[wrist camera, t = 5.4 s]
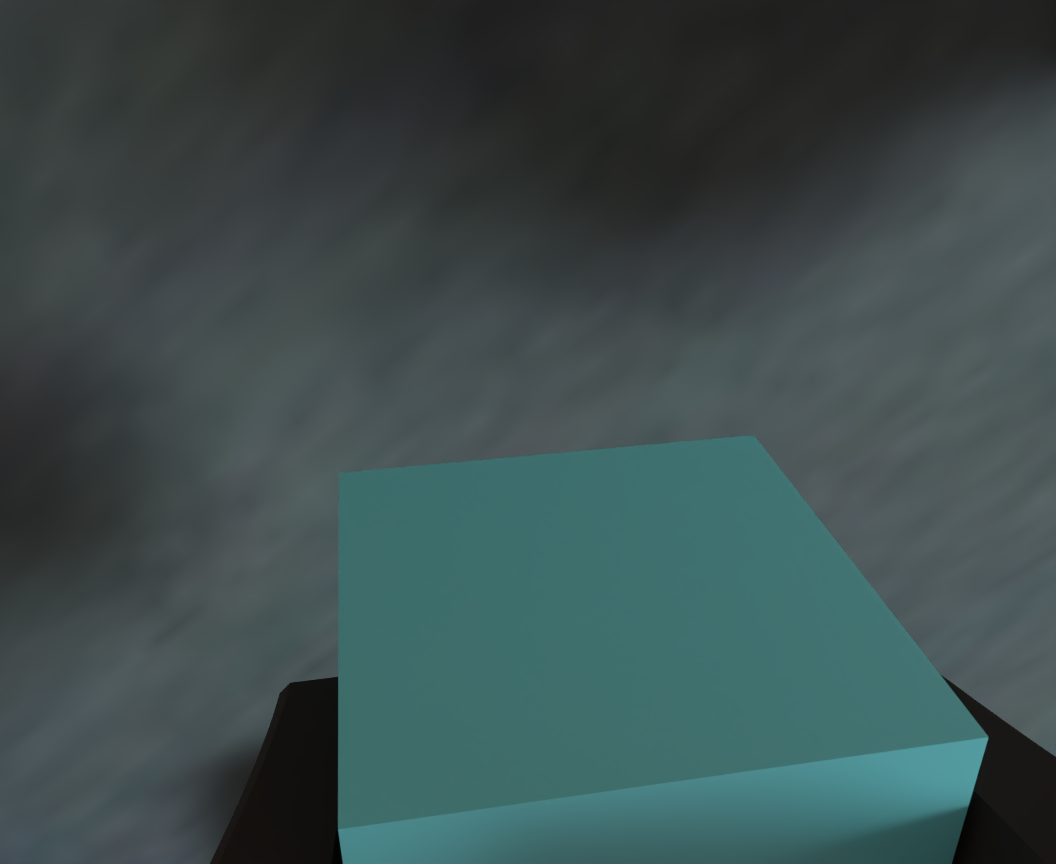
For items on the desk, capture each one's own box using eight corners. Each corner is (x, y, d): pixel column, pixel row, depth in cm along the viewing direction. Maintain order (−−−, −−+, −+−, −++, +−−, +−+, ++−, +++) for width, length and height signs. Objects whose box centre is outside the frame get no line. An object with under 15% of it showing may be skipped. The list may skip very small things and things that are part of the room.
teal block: (753, 435, 11) (988, 737, 7) (719, 735, 13) (883, 1095, 9) (338, 473, 10) (339, 830, 6) (374, 781, 12) (390, 1192, 8)
